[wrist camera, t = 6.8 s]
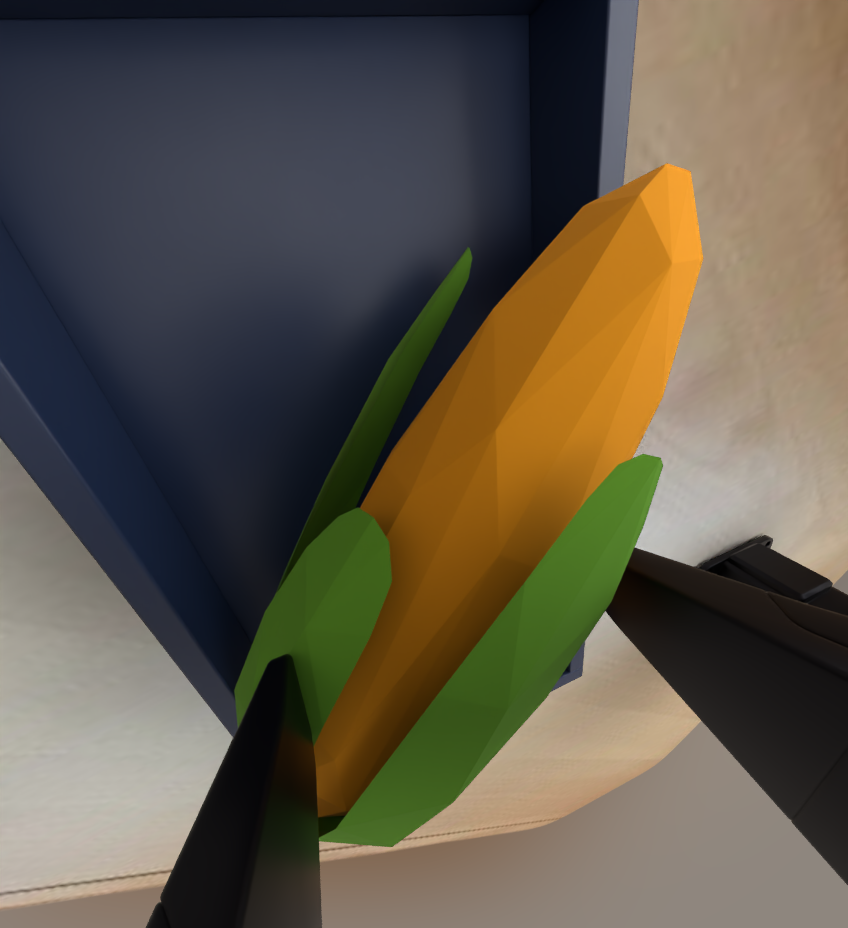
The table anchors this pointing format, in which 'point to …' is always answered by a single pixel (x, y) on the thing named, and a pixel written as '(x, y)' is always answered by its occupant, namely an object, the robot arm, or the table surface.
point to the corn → (483, 516)
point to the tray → (264, 256)
